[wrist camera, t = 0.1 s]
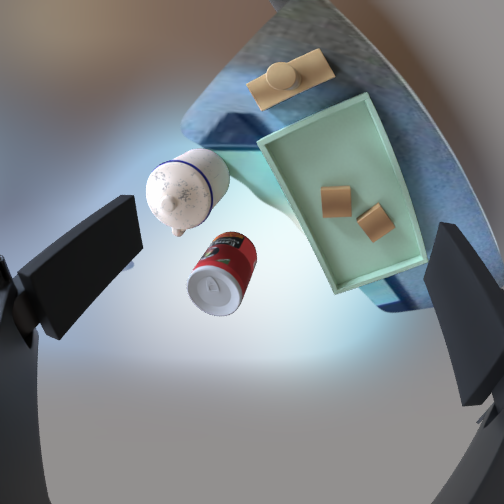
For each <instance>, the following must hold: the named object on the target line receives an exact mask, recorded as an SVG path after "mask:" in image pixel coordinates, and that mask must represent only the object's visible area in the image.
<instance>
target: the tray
mask: <svg viewBox="0 0 504 504" xmlns="http://www.w3.org/2000/svg"><path fill="white" fill-rule="evenodd" d="M257 144H258V146H259V147H260V150H261V152H262V153H263V155H264V157H265V159H266V161H267V162H268V164H269V166H270V168H271V170H272V172H273V173H274V175H275V177H276V179H277V181H278V183H279V185H280V186H281V188H282V190H283V192H284V194H285V196H286V198H287V200H288V202H289V204H290V205H291V207H292V209H293V211H294V213H295V215H296V217H297V219H298V221H299V223H300V225H301V227H302V229H303V231H304V233H305V235H306V237H307V239H308V241H309V242H310V245H311V247H312V249H313V251H314V253H315V255H316V257H317V259H318V261H319V263H320V265H321V267H322V269H323V271H324V273H325V275H326V278H327V279H328V282H329V284H330V286H331V288H332V290H333V292H334V294H335V295H336V294H339V293H342V292H345V291H348V290H351V289H354V288H357V287H360V286H363V285H366V284H369V283H372V282H375V281H378V280H381V279H384V278H386V277H389V276H392V275H395V274H398V273H400V272H403V271H406V270H409V269H411V268H414V267H417V266H419V265H422V264H425V263H427V262H428V258H427V254H426V250H425V246H424V242H423V238H422V235H421V231H420V228H419V224H418V221H417V217H416V214H415V211H414V208H413V204H412V201H411V198H410V195H409V192H408V189H407V186H406V183H405V180H404V178H403V175H402V172H401V169H400V167H399V164H398V161H397V159H396V156H395V153H394V151H393V148H392V146H391V143H390V141H389V139H388V136H387V134H386V131H385V129H384V127H383V124H382V122H381V120H380V118H379V116H378V113H377V111H376V109H375V107H374V105H373V103H372V100H371V98H370V96H369V94H368V92H364V93H362V94H359V95H357V96H354V97H352V98H349V99H347V100H344V101H342V102H340V103H337V104H335V105H333V106H330V107H328V108H326V109H323V110H321V111H319V112H317V113H314V114H312V115H310V116H308V117H306V118H303V119H301V120H299V121H297V122H295V123H293V124H290V125H288V126H286V127H284V128H282V129H280V130H278V131H276V132H274V133H272V134H270V135H268V136H266V137H264V138H262V139H260V140H259V141H257ZM327 186H350V188H351V207H352V217H334V218H323V215H322V202H321V187H327ZM378 202H379V203H380V205H381V206H382V207H383V209H384V210H385V212H386V213H387V214H388V216H389V217H390V219H391V220H392V221H393V223H394V225H395V228H394V229H393V230H391V231H390V232H389V233H387V234H386V235H384V236H383V237H381V238H380V239H378V240H377V241H375V242H374V243H372V241H371V240H370V239H369V237H368V236H367V235H366V233H365V232H364V231H363V229H362V228H361V227H360V226H359V224H358V223H357V219H356V218H357V217H359V216H360V215H361V214H363V213H364V212H366V211H367V210H368V209H370V208H371V207H373V206H374V205H375V204H377V203H378Z"/></svg>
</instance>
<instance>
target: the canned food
mask: <svg viewBox="0 0 504 504" xmlns="http://www.w3.org/2000/svg"><path fill="white" fill-rule="evenodd" d="M256 263H257V253H256V249H255V247H254V245H253V243H252V242H251V241H250V240H249V239H248V238H247V237H246V236H244V235H243V234H240V233H237V232H226V233H223V234H221V235H219V236H218V237H216V238H215V239H214V240H213V242H212V243H211V245H210V246H209V247H208V249H207V250H206V252H205V253H204V255H203V256H202V257H201V259H200V260H199V262H198V263H197V265H196V266H195V268H194V269H193V271H192V272H191V274H190V276H189V278H188V280H187V292H188V295H189V297H190V299H191V300H192V302H193V303H194V304H195V305H196V306H197V307H198V308H199V309H201V310H202V311H204V312H205V313H208V314H210V315H214V316H227V315H230V314H232V313H234V312H235V311H236V310H237V309H238V307H239V306H240V304H241V302H242V299H243V297H244V294H245V292H246V289H247V286H248V284H249V281H250V279H251V276H252V273H253V271H254V268H255V265H256Z"/></svg>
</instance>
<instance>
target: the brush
mask: <svg viewBox="0 0 504 504" xmlns="http://www.w3.org/2000/svg"><path fill="white" fill-rule="evenodd" d="M333 78H335V75H334V73H333V71H332V69H331V68H330V66H329V64H328V62H327V60H326V59H325V57H324V55H323V54H322V52H321V50H320V49H316V50H314V51H312V52H310V53H307V54H305V55H303V56H301V57H299V58H296V59H294V60H292V61H290V62H288V63H285V62H277V63H274V64H272V65H271V66H270V67H269V68H268V70H267V73H266V74H264V75H262V76H260V77H258V78H256V79H254V80H253V81H251V82H249V83H247V84H246V85H247V87H248V89H249V91H250V92H251V94H252V96H253V97H254V99H255V101H256V102H257V104H258V106H259V108H260V109H261V111H264V110H267V109H269V108H271V107H273V106H275V105H277V104H279V103H281V102H283V101H285V100H287V99H289V98H291V97H293V96H295V95H298V94H300V93H302V92H304V91H306V90H308V89H311V88H313V87H315V86H317V85H320V84H322V83H324V82H326V81H329V80H331V79H333Z"/></svg>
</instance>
